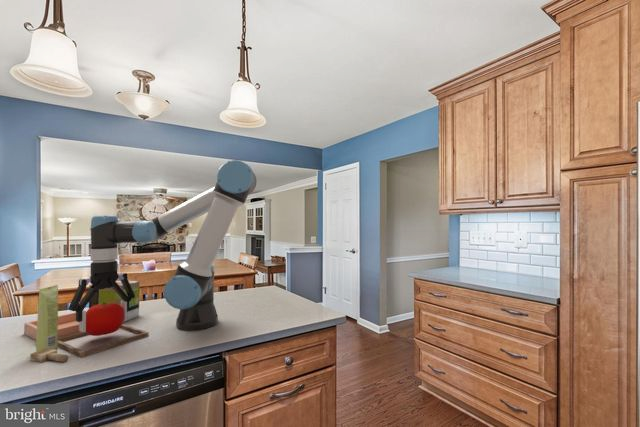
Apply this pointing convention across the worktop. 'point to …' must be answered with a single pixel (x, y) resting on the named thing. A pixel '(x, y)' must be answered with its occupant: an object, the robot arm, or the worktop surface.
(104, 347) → the rim
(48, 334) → the tube
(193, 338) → the worktop surface
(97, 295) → the tea box
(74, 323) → the brown wooden flat box
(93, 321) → the tomato
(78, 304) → the robot arm
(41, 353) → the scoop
